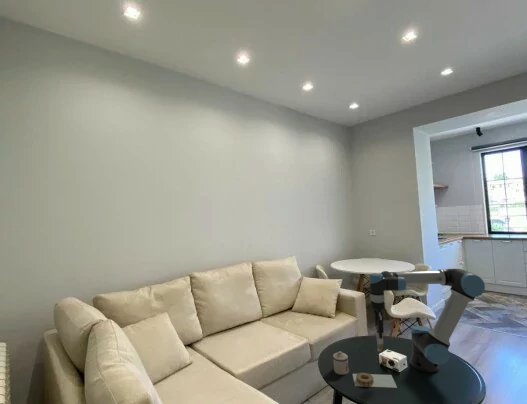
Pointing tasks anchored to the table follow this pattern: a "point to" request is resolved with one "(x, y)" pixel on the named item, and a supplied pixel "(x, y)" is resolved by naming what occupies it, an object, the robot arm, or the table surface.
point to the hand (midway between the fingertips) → (380, 342)
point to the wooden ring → (361, 379)
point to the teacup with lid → (340, 363)
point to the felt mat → (379, 381)
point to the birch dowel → (379, 346)
